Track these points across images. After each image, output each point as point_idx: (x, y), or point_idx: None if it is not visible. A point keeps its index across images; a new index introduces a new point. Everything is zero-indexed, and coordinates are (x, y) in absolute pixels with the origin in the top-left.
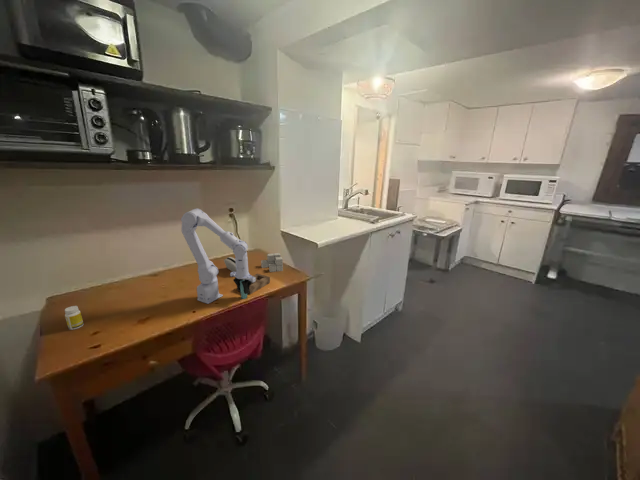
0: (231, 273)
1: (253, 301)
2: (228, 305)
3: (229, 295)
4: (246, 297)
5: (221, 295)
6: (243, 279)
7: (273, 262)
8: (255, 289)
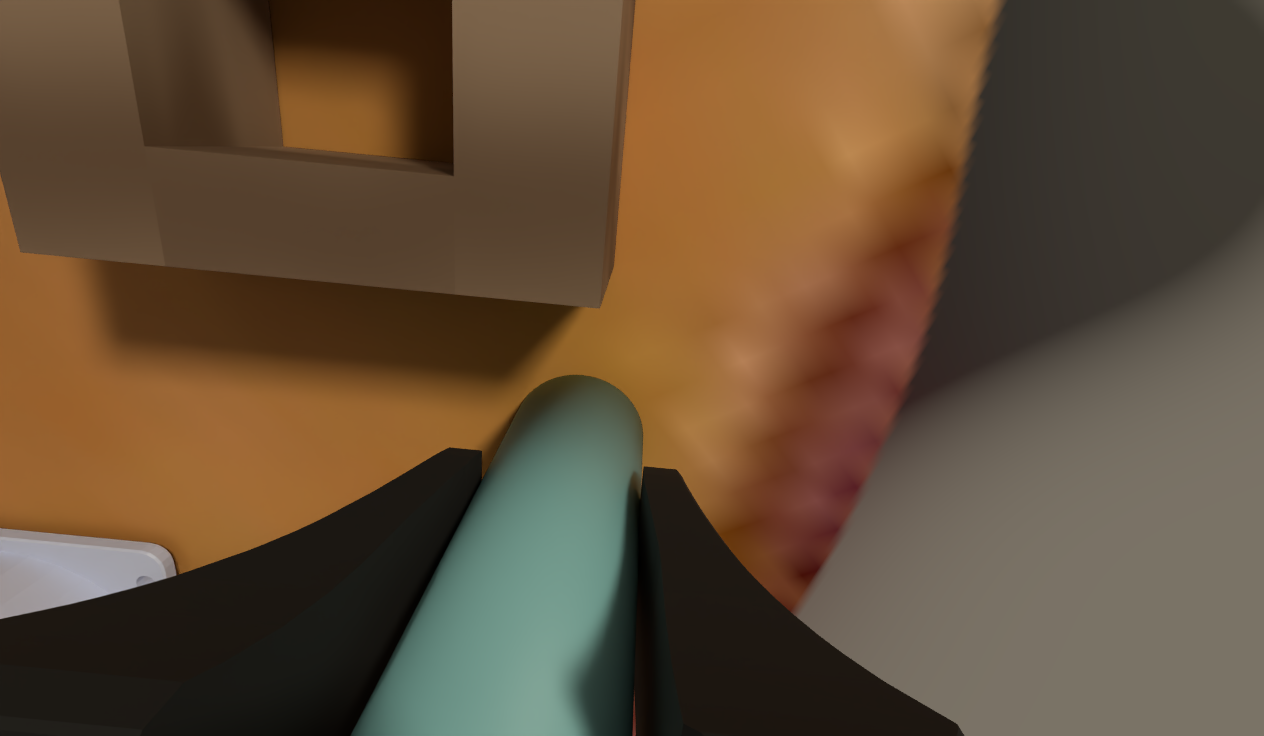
0: None
1: (856, 491)
2: None
3: (250, 478)
4: (642, 448)
5: (146, 575)
6: (291, 646)
7: None
8: (629, 52)
